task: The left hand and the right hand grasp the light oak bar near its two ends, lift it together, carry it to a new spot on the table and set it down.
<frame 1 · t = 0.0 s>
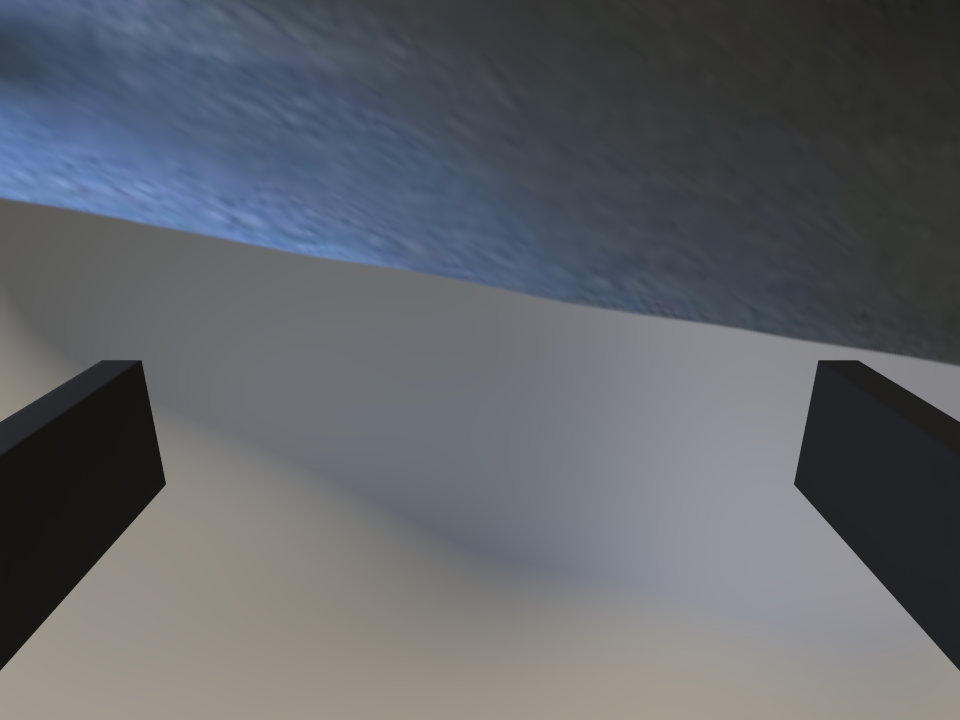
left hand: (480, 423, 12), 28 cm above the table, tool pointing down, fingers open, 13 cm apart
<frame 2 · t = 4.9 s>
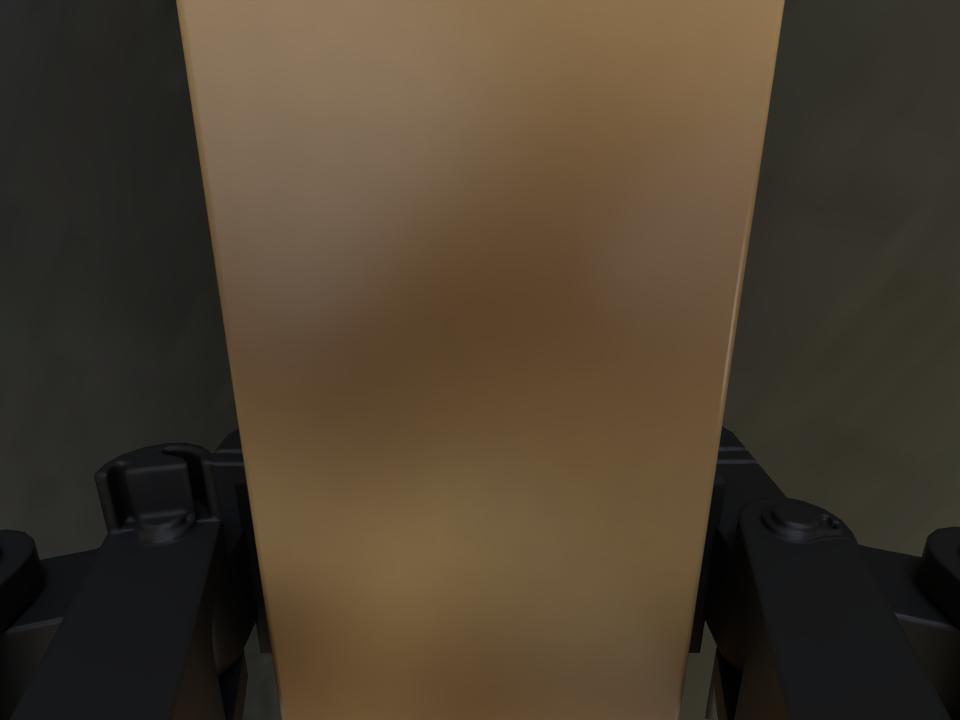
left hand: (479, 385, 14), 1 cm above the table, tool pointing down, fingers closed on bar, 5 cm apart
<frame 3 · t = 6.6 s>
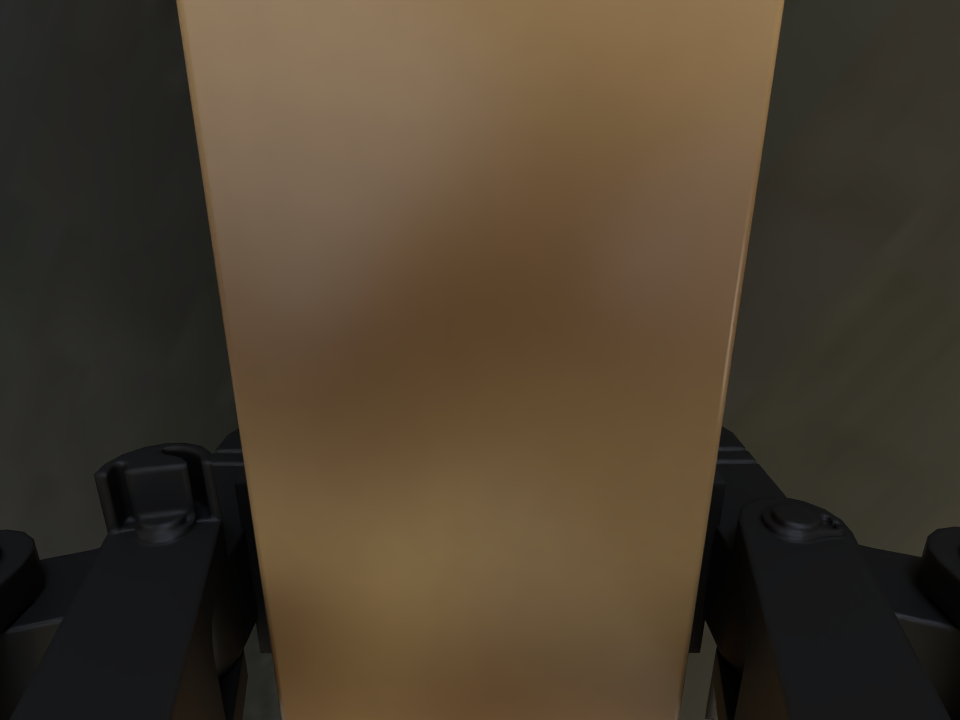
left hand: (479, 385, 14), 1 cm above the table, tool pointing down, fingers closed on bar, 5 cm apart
when the left hand's fingers open (2 cm above the table, at t = 10.6 s): bar stays where it is, on the table.
when the right hand's fingers open (5 cm above the table, at t = 10.8 s): bar stays where it is, on the table.
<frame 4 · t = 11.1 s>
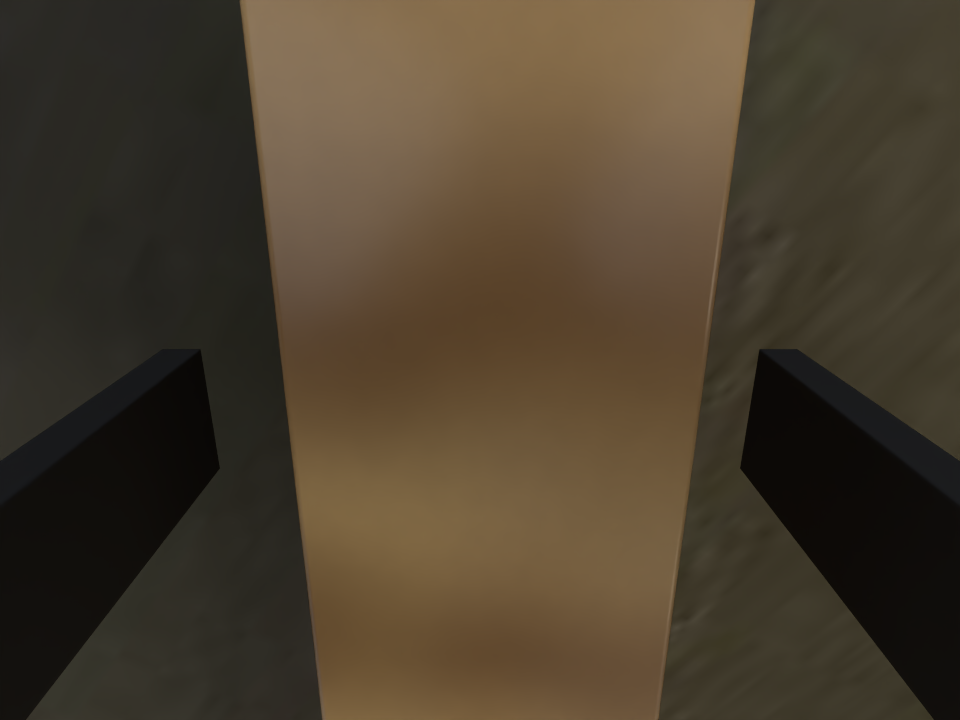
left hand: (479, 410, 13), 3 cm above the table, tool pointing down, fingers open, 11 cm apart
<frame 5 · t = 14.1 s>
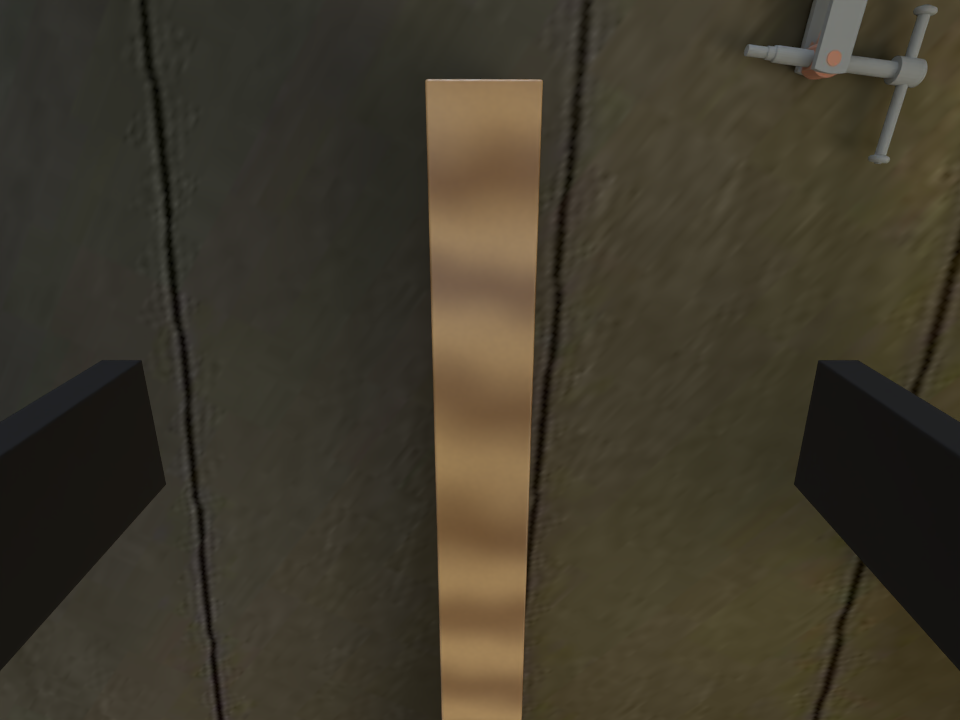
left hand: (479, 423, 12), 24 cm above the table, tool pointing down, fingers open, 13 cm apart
bar: (481, 507, 41), on the table
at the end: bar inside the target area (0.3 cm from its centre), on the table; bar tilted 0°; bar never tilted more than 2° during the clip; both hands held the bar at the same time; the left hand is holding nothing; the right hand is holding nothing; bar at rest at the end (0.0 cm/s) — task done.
